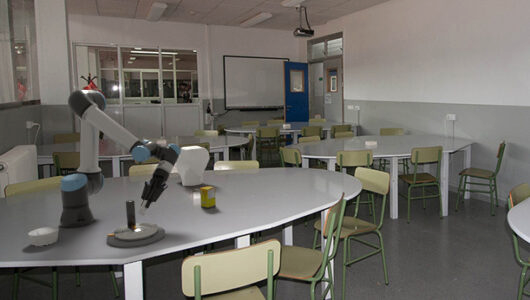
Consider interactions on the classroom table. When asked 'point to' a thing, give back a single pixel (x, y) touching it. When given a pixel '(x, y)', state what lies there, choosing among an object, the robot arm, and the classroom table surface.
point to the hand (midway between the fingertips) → (141, 213)
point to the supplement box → (207, 197)
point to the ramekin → (43, 236)
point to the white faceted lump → (192, 165)
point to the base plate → (118, 243)
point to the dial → (134, 227)
